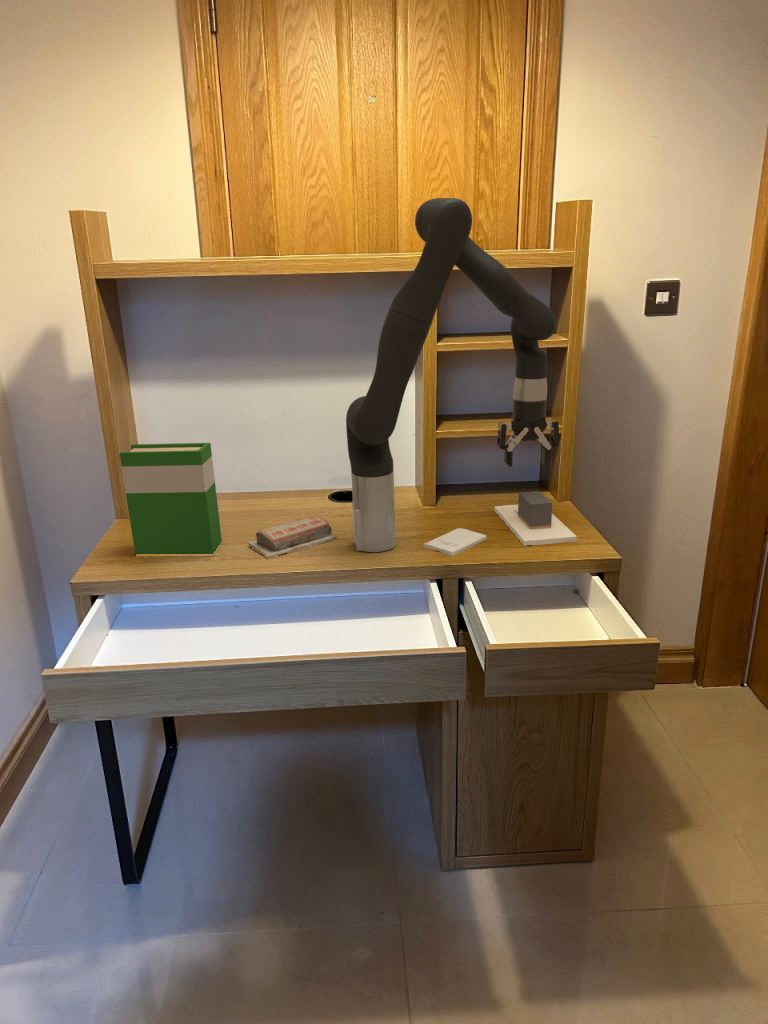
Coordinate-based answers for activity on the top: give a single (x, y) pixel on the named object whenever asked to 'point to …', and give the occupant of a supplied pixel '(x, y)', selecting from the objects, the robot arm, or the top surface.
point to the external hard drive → (455, 541)
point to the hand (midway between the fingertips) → (526, 465)
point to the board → (534, 536)
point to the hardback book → (171, 498)
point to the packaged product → (292, 536)
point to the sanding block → (534, 510)
